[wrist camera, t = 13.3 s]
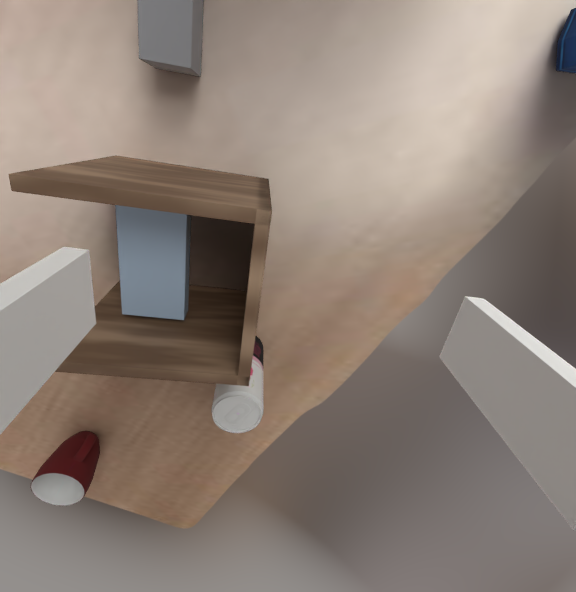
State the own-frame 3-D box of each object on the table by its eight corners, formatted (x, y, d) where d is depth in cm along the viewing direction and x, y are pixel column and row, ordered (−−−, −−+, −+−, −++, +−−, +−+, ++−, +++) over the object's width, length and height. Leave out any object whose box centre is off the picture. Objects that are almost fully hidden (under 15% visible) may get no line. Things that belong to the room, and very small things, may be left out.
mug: (75, 407, 59) (42, 456, 50) (121, 422, 62) (97, 472, 53) (58, 445, 63) (24, 497, 54) (102, 458, 65) (76, 511, 56)
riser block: (155, -22, 36) (136, -49, 30) (203, -12, 36) (193, -36, 31) (156, 68, 39) (139, 58, 34) (200, 76, 40) (190, 68, 34)
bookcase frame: (115, 155, 43) (8, 174, 25) (268, 178, 45) (271, 210, 27) (123, 284, 50) (45, 370, 32) (253, 298, 52) (248, 386, 35)
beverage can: (215, 348, 56) (200, 417, 43) (241, 323, 54) (233, 386, 41) (245, 369, 58) (240, 441, 45) (271, 345, 56) (274, 412, 43)
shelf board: (123, 186, 36) (114, 190, 34) (191, 196, 37) (187, 200, 34) (129, 304, 42) (122, 314, 39) (188, 310, 43) (184, 320, 40)
